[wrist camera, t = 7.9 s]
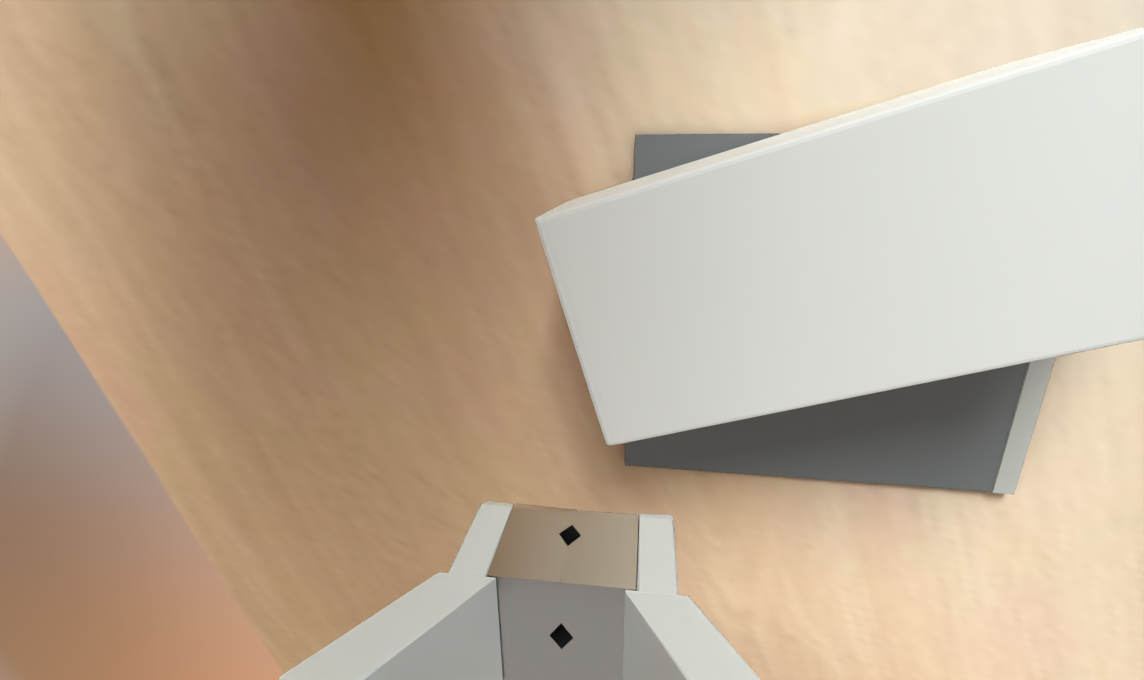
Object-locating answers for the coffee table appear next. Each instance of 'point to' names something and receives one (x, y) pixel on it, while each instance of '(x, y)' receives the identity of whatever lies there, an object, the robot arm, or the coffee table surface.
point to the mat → (860, 409)
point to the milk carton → (866, 248)
